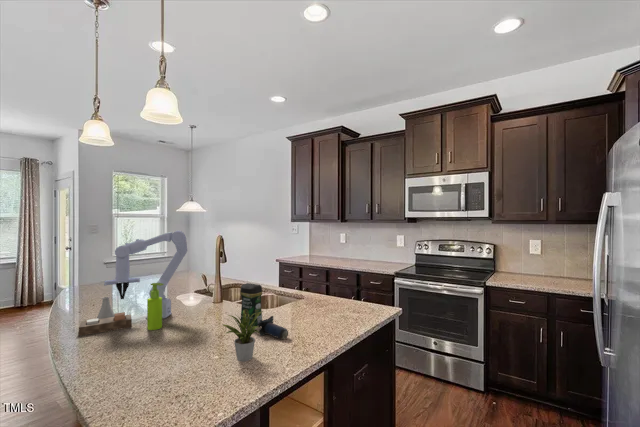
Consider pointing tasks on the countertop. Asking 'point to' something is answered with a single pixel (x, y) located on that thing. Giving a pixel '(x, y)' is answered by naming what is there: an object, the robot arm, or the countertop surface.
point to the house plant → (244, 337)
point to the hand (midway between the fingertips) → (122, 298)
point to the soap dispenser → (154, 309)
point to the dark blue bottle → (272, 329)
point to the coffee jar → (251, 302)
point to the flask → (105, 309)
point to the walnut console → (105, 325)
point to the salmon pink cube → (119, 316)
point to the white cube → (92, 321)
